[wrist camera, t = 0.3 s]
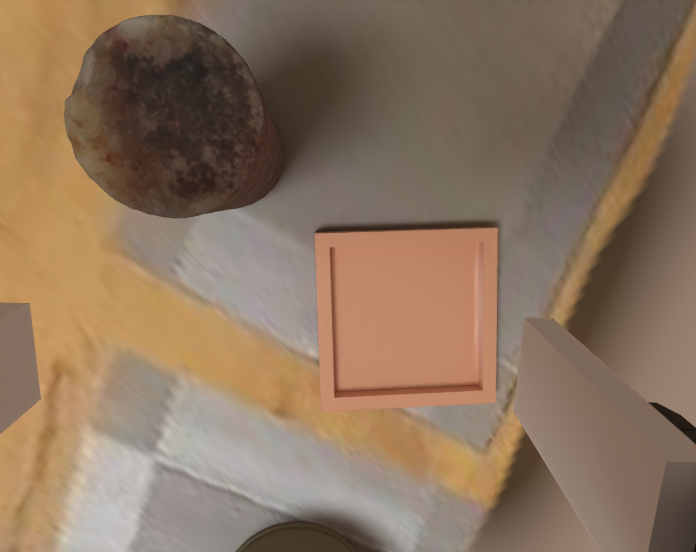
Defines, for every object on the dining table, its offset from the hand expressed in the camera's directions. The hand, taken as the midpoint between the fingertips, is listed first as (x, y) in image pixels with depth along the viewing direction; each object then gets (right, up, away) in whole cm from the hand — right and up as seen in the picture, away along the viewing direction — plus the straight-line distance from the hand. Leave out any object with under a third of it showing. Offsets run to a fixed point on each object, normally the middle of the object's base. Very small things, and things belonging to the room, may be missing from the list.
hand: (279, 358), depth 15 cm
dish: (+6, -1, +27) cm, 27 cm away
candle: (-6, +11, +24) cm, 27 cm away
